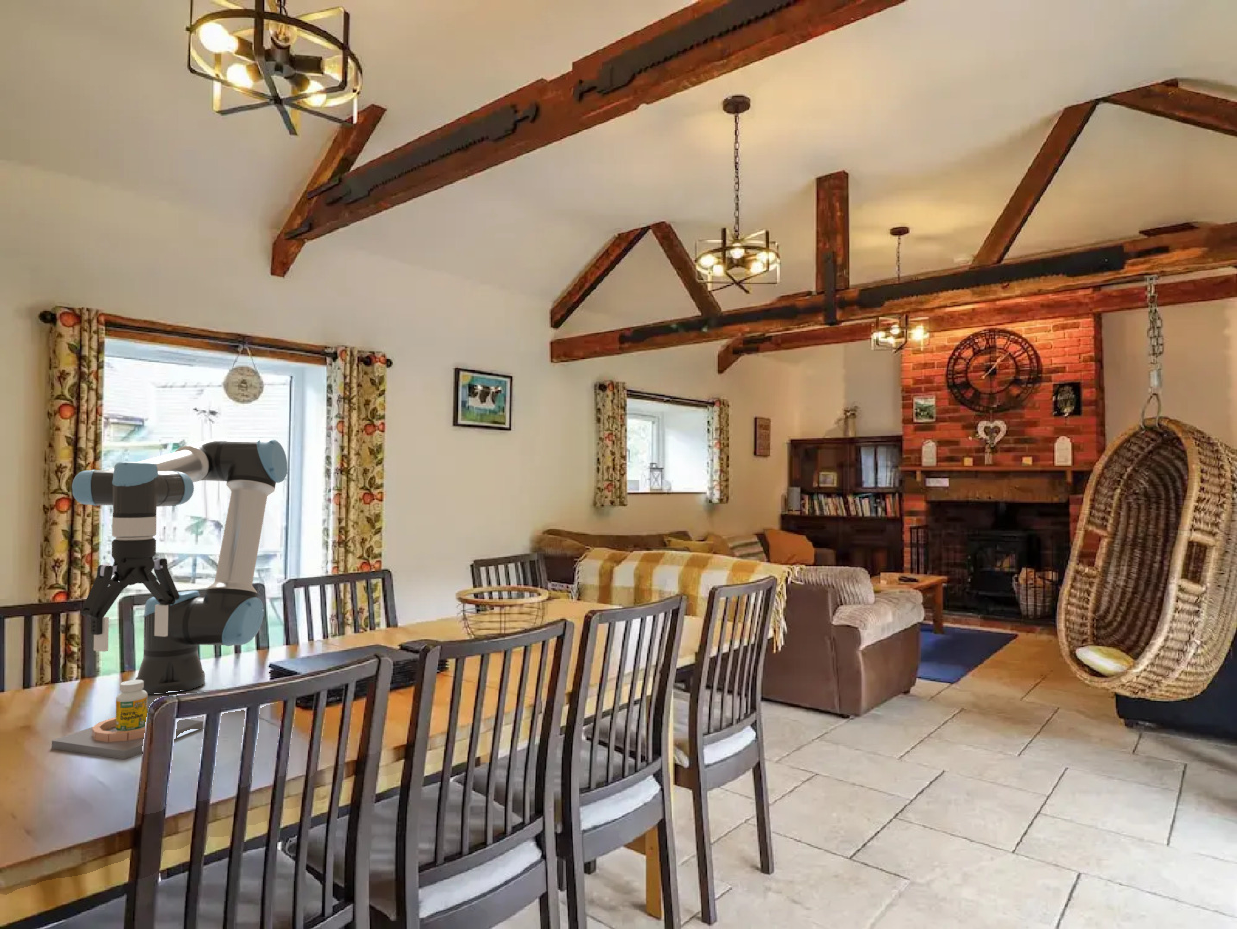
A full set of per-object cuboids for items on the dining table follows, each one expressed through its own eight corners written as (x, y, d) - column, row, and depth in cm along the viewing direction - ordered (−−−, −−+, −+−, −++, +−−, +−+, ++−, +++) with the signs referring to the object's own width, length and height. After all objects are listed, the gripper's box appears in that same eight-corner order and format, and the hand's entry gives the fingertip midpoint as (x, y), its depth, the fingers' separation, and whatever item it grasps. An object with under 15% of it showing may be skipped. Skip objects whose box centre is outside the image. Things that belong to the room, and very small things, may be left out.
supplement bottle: (146, 723, 154) (147, 677, 154) (148, 731, 149) (148, 683, 149) (115, 728, 151) (116, 681, 151) (115, 736, 146) (116, 687, 146)
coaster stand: (135, 719, 161) (135, 705, 161) (202, 728, 156) (203, 713, 156) (51, 748, 144) (52, 732, 144) (124, 759, 139) (125, 743, 139)
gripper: (171, 532, 164) (169, 629, 164) (59, 542, 140) (56, 656, 140) (199, 533, 162) (197, 631, 162) (90, 544, 138) (88, 659, 138)
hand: (132, 643), depth 151 cm, fingers open, 13 cm apart
